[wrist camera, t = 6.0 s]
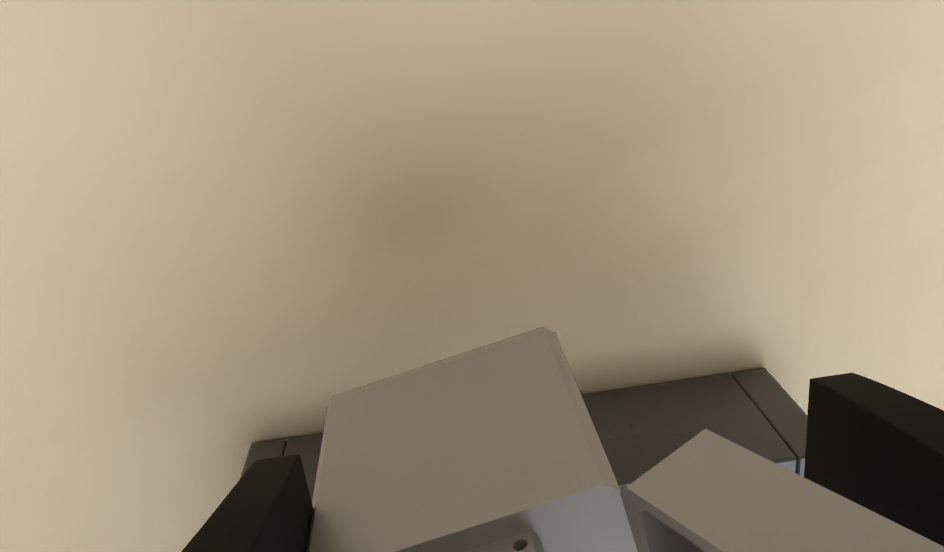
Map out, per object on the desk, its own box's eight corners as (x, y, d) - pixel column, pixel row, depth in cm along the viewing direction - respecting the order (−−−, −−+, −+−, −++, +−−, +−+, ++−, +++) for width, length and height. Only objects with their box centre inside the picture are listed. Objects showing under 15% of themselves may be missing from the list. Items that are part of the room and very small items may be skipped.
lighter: (360, 476, 14) (314, 1058, 7) (323, 398, 13) (226, 950, 6) (738, 353, 14) (1136, 818, 6) (720, 268, 13) (1143, 675, 6)
